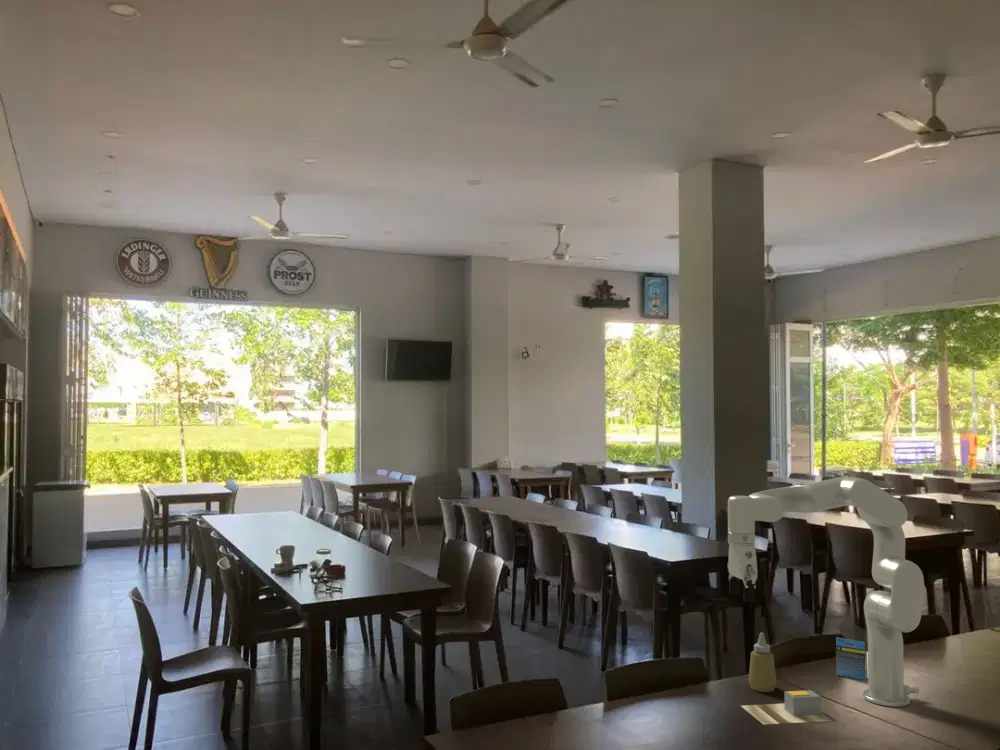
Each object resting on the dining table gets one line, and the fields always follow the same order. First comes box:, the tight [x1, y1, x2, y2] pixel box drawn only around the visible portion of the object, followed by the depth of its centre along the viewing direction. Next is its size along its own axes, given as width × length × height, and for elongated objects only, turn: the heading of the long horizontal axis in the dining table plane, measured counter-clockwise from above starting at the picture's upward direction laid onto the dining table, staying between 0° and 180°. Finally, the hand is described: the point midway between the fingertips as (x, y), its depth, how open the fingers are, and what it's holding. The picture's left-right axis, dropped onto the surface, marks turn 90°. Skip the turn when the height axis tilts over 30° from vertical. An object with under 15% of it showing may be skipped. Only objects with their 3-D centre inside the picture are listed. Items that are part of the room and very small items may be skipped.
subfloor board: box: [740, 702, 833, 726], centre depth 224 cm, size 20×14×2 cm
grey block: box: [783, 689, 822, 716], centre depth 225 cm, size 8×5×5 cm, turn 98°
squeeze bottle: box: [748, 632, 777, 693], centre depth 244 cm, size 8×8×18 cm
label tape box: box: [835, 637, 868, 681], centre depth 260 cm, size 9×4×12 cm, turn 57°
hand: (741, 597), depth 234 cm, fingers open, 9 cm apart
